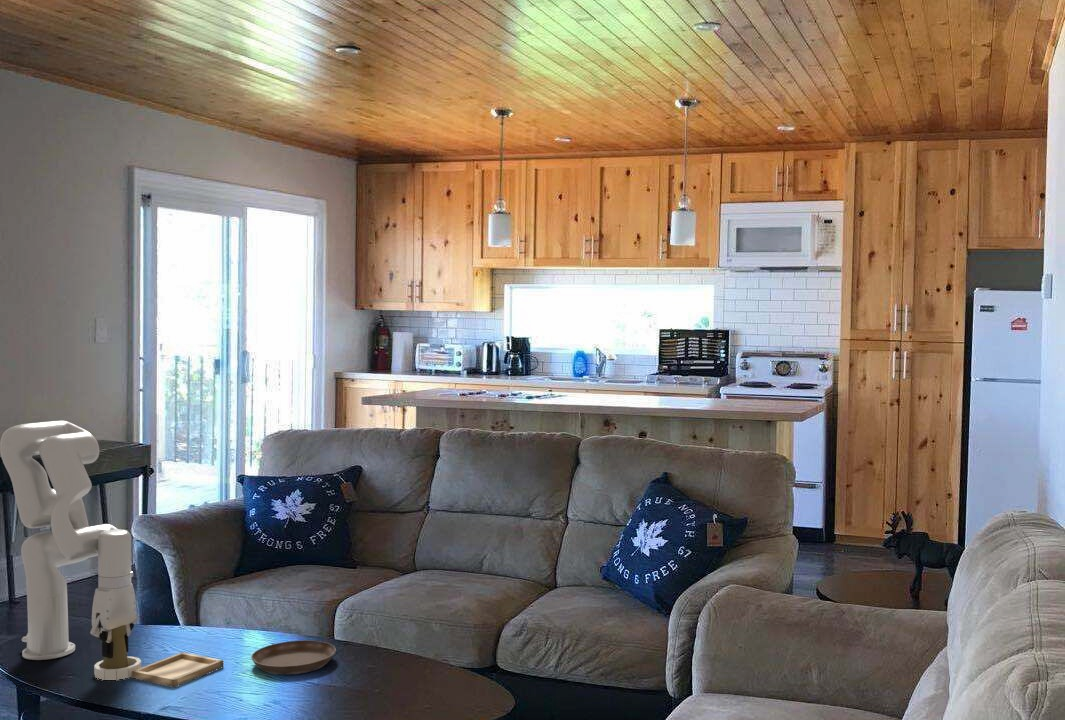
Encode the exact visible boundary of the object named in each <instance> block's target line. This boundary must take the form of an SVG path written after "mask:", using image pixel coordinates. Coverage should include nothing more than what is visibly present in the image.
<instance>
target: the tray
mask: <svg viewBox="0 0 1065 720" xmlns="http://www.w3.org/2000/svg"><path fill="white" fill-rule="evenodd" d="M221 667H223V668H224V660H223V659H219V658H215V657H214V658H213V657H208V656H204V655H198V654H193V653H188V652H183V651H182V652H179V653H176V654H173V655H171V656H169V657H166V658H163V659H159V660H158V661H155V662H153V663H150V664H147V665H144V666H142V668H139V669H136V670H134V671H132V677H131V678H132V679H133V678H136V679H135V680H137V679H140V680H139V681H142V680H145V681H144V682H147V681H149V682H148V683H151V682H153V683H152V684H156V683H158V684H157V685H160V684H162V685H161V686H165V685H167V686H166V687H170V686H172V687H171V688H174V687H175V688H176V686H177V687H179V686H181V684H182V685H184V684H186V683H185V682H187V683H188V681H189V682H191V681H190V680H192V681H193V679H194V680H196V679H199V678H201V677H203V675H204V676H205V674H206V675H208V674H207V673H209V672H211V673H213V672H215V671H214V670H216V669H218V670H220V669H219V668H221ZM221 669H222V668H221ZM212 671H213V672H212ZM216 671H217V670H216ZM209 674H210V673H209ZM200 676H201V677H200ZM198 677H199V678H198ZM195 678H196V679H195ZM183 683H184V684H183ZM178 685H179V686H178Z"/></svg>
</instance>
